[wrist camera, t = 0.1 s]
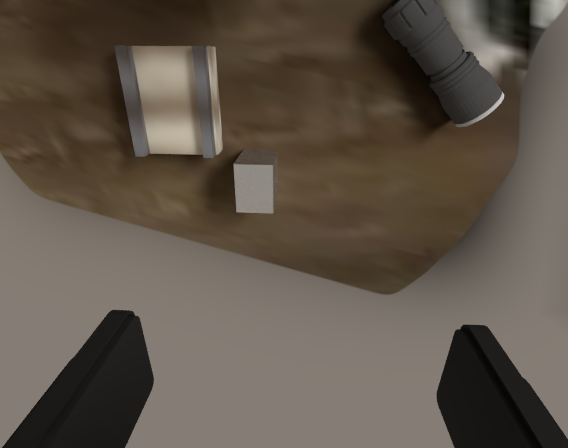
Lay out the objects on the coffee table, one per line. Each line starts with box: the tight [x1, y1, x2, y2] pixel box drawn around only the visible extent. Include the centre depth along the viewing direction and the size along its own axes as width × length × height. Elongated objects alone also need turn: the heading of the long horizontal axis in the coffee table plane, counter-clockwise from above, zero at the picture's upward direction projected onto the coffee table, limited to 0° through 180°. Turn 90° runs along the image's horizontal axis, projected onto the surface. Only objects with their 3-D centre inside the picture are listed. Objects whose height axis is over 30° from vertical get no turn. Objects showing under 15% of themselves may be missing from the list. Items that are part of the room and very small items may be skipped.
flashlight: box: [382, 0, 504, 127], centre depth 36 cm, size 15×5×5 cm, turn 44°
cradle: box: [114, 45, 223, 158], centre depth 40 cm, size 12×10×4 cm
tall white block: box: [234, 149, 278, 213], centre depth 43 cm, size 6×4×7 cm
